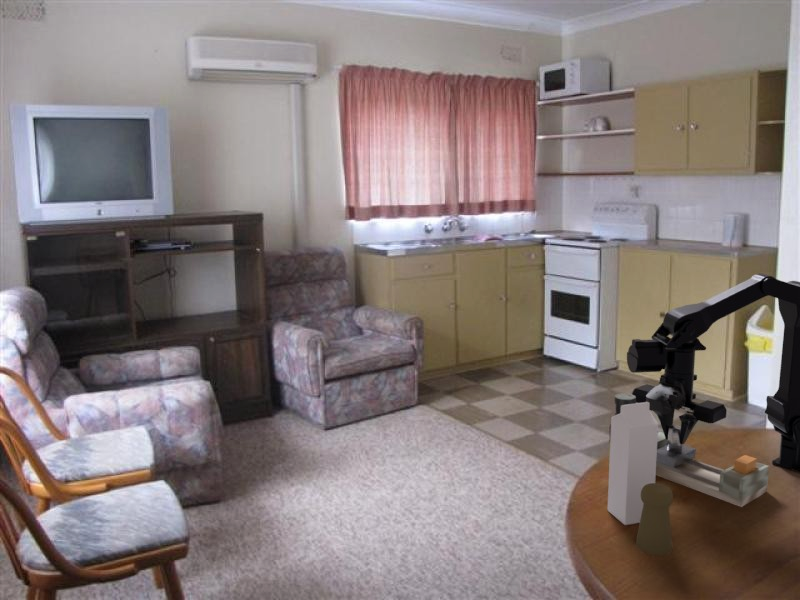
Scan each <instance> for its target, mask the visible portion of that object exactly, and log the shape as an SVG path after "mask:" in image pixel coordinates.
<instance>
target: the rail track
mask: <svg viewBox="0 0 800 600" xmlns="http://www.w3.org/2000/svg"><path fill="white" fill-rule="evenodd" d="M667 442H668V440H667V439H666V438H665V435H664V432H663V431H658V439H657V449H659V448H662V447H664V446H666V445H667ZM769 470H770V465H767V464H765V463H761V462H758V461H757V464H756V470H755V471H753V472H752V473H750V474H748V475H745V474H742V473H739V472H736V471H734V464H733V465H731V466H730V467H728V468H726V469H722V468H720V467H717V466H713V465H710V464H708V463H705V462H702V461H698V460H696V459H694V458H693V459H691V460H689V461H687V462H685V463H683V464H681V465H679V466H677V467H675V468H674V467H671V466H668V465H665V464H662V463H659V462H657V461H656V475H655V477H656V476H657V477H660V478H663V479H664V480H668V481H671V482H673V483H676V484H678V485H681V486H684V487H687V488H688V489H692V490H694V491H697V492H700V493H702V494H706V495H708V496H711V497H712V498H713V497H714V498H716V499H719V500H722V501H724V502H726V503H729V504H732V505H735V506H737V507H739V508H743V507H744V506H745V505H747V504H749V503H751V502H753V501H754V500H755V499H757V498H759V497H761V496H762V495H764V494H765V493H767V492H768V485H769V484H768V483H769V473H770V472H769Z"/></svg>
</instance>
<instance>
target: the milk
mask: <svg viewBox="0 0 800 600" xmlns="http://www.w3.org/2000/svg"><path fill="white" fill-rule="evenodd" d="M649 405H650V404H649V402H644V403H637V402H636V404H628V405H622V406H621V412H620V414H617V415H615V414H614V415H613V416H611V418H610V425H611V439H610V438H609V439H610V463H609V462H608V488H607V489H608V493H607V511H608V512H609V513H610V514H611V515H612V516H613V517H615V518H616V519H617V520H618V521H619V522H621V523H622V524H623V525H624V526H628V525H629V526H630V525H634V524H635V525H636V524H638V523H639V524H640V519H641V514H642V509H643V504H644V503H643V502H642V500H641V490H642V488H643V487H644V486H645V485H647V484H650V483H656V457H657V439H658V432H659V422H658V421H657V419H656V417H654V415H653V413H652V411H651V410H649Z"/></svg>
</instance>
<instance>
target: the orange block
mask: <svg viewBox="0 0 800 600" xmlns="http://www.w3.org/2000/svg"><path fill="white" fill-rule="evenodd" d="M757 462H758V458H755V457H753V456H749V455H747V454H744V455H742V456H739V457H738V458H736V459H734V463H733V465H734V471H736V472H739V473H742V474H745V475H748V474H750V473H752V472H753V471H755V470H756V464H757Z"/></svg>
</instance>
